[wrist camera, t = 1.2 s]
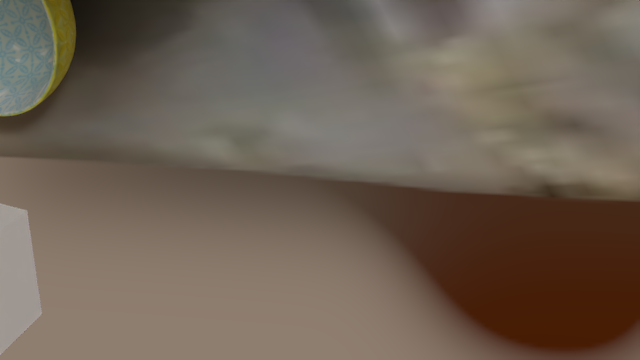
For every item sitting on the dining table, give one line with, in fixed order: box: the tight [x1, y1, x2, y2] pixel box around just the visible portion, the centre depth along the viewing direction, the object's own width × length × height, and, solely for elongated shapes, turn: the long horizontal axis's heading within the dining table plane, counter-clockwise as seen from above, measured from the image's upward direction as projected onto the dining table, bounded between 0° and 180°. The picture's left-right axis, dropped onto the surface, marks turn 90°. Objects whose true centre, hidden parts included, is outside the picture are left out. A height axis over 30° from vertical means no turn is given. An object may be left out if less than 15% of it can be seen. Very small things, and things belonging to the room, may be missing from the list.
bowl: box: [0, 0, 76, 116], centre depth 38 cm, size 11×12×6 cm
